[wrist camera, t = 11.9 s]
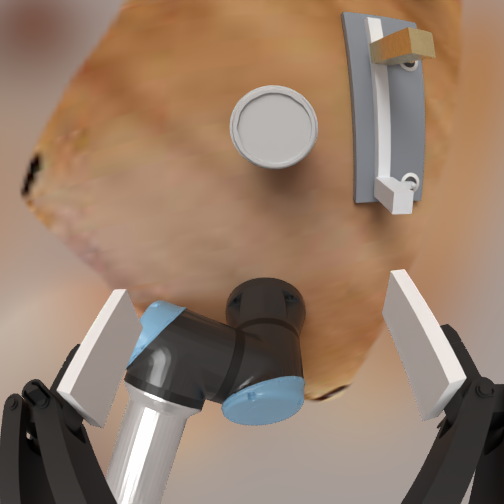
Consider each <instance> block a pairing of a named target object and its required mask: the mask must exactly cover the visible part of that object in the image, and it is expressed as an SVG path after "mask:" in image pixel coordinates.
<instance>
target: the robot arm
mask: <svg viewBox="0 0 504 504" xmlns="http://www.w3.org/2000/svg"><path fill="white" fill-rule="evenodd" d="M382 315H383V317H384V319H385V322H386V324H387V326H388V329H389V331H390V333H391V336H392V338H393V341H394V343H395V346H396V348H397V350H398V353H399V356H400V358H401V361H402V364H403V366H404V369H405V372H406V374H407V377H408V380H409V382H410V385H411V388H412V391H413V394H414V397H415V400H416V402H417V406H418V409H419V412H420V415H421V418H422V421H425V420H429V419H432V418H435V417H438V416H439V415H440V413H441V412H442V411H443V410H444V411H445V414H446V416H445V417H444V419H443V420H442V421H441V422H440V423H439V425H438V426H437V428H439V427H440V426H441V427H440V430H439V432H438V434H437V437H436V439H435V441H434V443H433V446H432V448H431V450H430V452H429V454H428V456H427V458H426V460H425V462H424V464H423V466H422V468H421V470H420V472H419V474H418V476H417V477H416V479H415V481H414V483H413V485H412V486H411V488H410V490H409V491H408V493H407V495H406V496H405V498H404V499H403V501H402V503H401V504H460V503H461V502H462V499H463V497H464V495H465V493H466V491H467V488H468V486H469V484H470V481H471V479H472V477H473V474H474V472H475V476H474V481H473V486H472V491H471V495H470V500H469V504H504V384H494V383H493V382H492V381H491V380H490V379H488V378H486V377H481V375H480V374H479V372H478V370H477V368H476V366H475V364H474V362H473V361H472V359H471V357H470V355H469V353H468V351H467V349H465V346H464V344H463V342H461V339H460V337H459V335H458V334H457V332H456V331H455V330H454V329H453V328H452V327H451V326H450V325H448V324H446V325H442V326H439V324H438V322H437V321H436V319H435V317H434V315H433V314H432V312H431V310H430V309H429V307H428V305H427V304H426V302H425V300H424V299H423V297H422V296H421V294H420V292H419V291H418V289H417V288H416V286H415V285H414V283H413V282H412V280H411V278H410V277H409V275H408V274H407V272H406V271H405V269H403V270H394V271H391V272H390V278H389V283H388V289H387V294H386V298H385V303H384V308H383V312H382ZM226 320H227V324H228V325H225V324H222V323H220V322H217V321H215V320H212V319H209V318H207V317H204V316H202V315H200V314H197V313H195V312H192V311H190V310H187V308H186V307H180V306H177V305H174V304H172V303H169V302H166V301H163V300H159V301H155V302H153V303H152V304H151V305H150V306H149V307H148V308H147V309H146V311H145V312H144V314H143V315H142V317H141V318H140V320H139V318H138V316H137V313H136V311H135V309H134V306H133V304H132V302H131V299H130V297H129V295H128V292H127V290H126V289H118V290H114V291H113V292H112V294H111V296H110V297H109V299H108V300H107V302H106V303H105V305H104V307H103V308H102V310H101V312H100V313H99V315H98V316H97V318H96V320H95V321H94V323H93V325H92V326H91V328H90V330H89V331H88V333H87V335H86V336H85V338H84V340H83V342H82V343H81V344H77V345H76V346H75V347H74V348H73V349H72V350H71V351H70V353H69V355H68V356H67V358H66V361H65V362H64V364H63V367H62V368H61V369H60V371H59V373H58V375H57V377H56V378H55V380H54V382H53V384H52V386H51V388H50V390H49V389H48V388H47V387H46V386H45V385H44V384H43V383H42V382H41V381H40V380H38V379H34V380H31V381H29V382H28V383H27V384H26V385H25V386H24V388H23V390H22V397H23V398H24V399H25V400H24V399H23V398H22V397H21V396H20V395H19V394H12V395H10V396H9V397H8V398H7V400H6V402H5V405H4V410H3V418H2V427H1V438H0V504H160V503H161V500H162V496H163V493H164V490H165V487H166V484H167V480H168V477H169V474H170V471H171V468H172V465H173V462H174V458H175V455H176V452H177V449H178V446H179V443H180V440H181V437H182V434H183V431H184V427H185V424H186V421H187V419H188V418H189V417H190V416H192V415H194V414H196V413H199V412H201V410H202V407H203V404H204V401H205V400H206V399H207V400H210V401H213V402H217V403H220V404H222V408H221V409H222V411H223V414H224V416H225V417H226V418H228V419H229V420H230V421H232V422H234V423H238V424H243V425H266V424H272V423H276V422H280V421H282V420H285V419H287V418H289V417H291V416H293V415H294V414H295V413H296V412H298V411H299V410H300V408H301V407H302V405H303V403H304V386H305V381H304V377H303V368H302V359H301V351H300V343H299V335H300V332H301V329H302V326H303V323H304V320H305V305H304V300H303V298H302V296H301V294H300V293H299V291H298V290H297V289H296V288H295V287H294V286H292V285H291V284H289V283H287V282H285V281H282V280H279V279H274V278H257V279H252V280H249V281H247V282H244V283H242V284H241V285H239V286H238V287H236V288H235V289H234V290H233V291H232V293H231V294H230V296H229V298H228V300H227V305H226ZM126 369H127V373H126V376H125V378H124V384H125V387H126V388H127V391H128V393H129V397H130V398H129V401H128V404H127V407H126V410H125V413H124V416H123V420H122V423H121V426H120V429H119V432H118V436H117V439H116V442H115V446H114V449H113V453H112V456H111V460H110V464H109V467H108V471H107V475H106V479H105V477H104V475H103V473H102V470H101V468H100V466H99V464H98V461H97V459H96V456H95V454H94V451H93V449H92V446H91V444H90V441H89V438H88V435H87V432H86V429H85V427H84V425H83V424H82V421H83V419H85V420H86V421H87V422H88V423H89V424H90V425H93V426H96V427H100V428H104V425H105V422H106V419H107V417H108V414H109V411H110V409H111V406H112V403H113V401H114V398H115V395H116V393H117V390H118V388H119V385H120V382H121V380H122V377H123V375H124V372H125V370H126ZM27 433H29V434H30V439H28V438H27V437H26V434H27ZM475 469H476V470H475Z"/></svg>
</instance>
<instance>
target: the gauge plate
mask: <svg viewBox="0 0 504 504" xmlns="http://www.w3.org/2000/svg"><path fill="white" fill-rule="evenodd" d="M341 19H342V25H343V31H344V38H345V45H346V53H347V61H348V71H349V81H350V92H351V106H352V123H353V151H354V198H353V200H354V201H355V202H356V203H363V202H381V203H382V204H383V205H384V206H385V207H386V208H387V209H388V210H389V212H390V213H391V214H412V205H413V201H421V196H422V185H423V172H424V153H425V103H424V84H423V72H422V62H421V60H418V61H415V62H414V63H401V64H395V65H383V64H373V63H371V55H370V47H369V44H370V43H372V42H374V41H377V40H379V39H381V38H383V37H386V36H388V35H390V34H392V33H395V32H397V31H400V30H402V29H405V28H407V27H410V28H414V29H417V27H416V23H413V22H408V21H404V20H399V19H393V18H388V17H382V16H375V15H368V14H360V13H350V12H343V13H342V14H341Z"/></svg>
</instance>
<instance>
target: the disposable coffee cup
mask: <svg viewBox="0 0 504 504" xmlns="http://www.w3.org/2000/svg"><path fill="white" fill-rule="evenodd" d="M317 134H318V122H317V118H316V114H315V112H314V110H313V108H312V106H311V105H310V103H309V102H308V101H307V100H306V99H305V98H304V97H303V96H302V95H301V94H299V93H298V92H296V91H294V90H292V89H290V88H287V87H283V86H274V85H269V86H263V87H259V88H257V89H254V90H252V91H250V92H249V93H247V94H246V95H245V96H243V98H242V99H241V100H240V101H239V102H238V103H237V105H236V106H235V108H234V110H233V112H232V115H231V119H230V135H231V138H232V141H233V143H234V145H235V148H236V149H237V151H238V152H239V153H240V154H241V155H242V156H243V157H244V158H245V159H246V160H247V161H249V162H251V163H252V164H254V165H256V166H259V167H262V168H267V169H283V168H287V167H290V166H292V165H295V164H297V163H298V162H300V161H301V160H303V159H304V158H305V157H306V156H307V155H308V154H309V152H310V151H311V150H312V148H313V146H314V144H315V141H316V139H317Z"/></svg>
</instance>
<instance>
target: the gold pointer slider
mask: <svg viewBox="0 0 504 504" xmlns="http://www.w3.org/2000/svg"><path fill="white" fill-rule="evenodd" d="M369 47H370V55H371V63H373V64H383V65H395V64H401V63H414V62H415V61H418V60H424V59H432V58H435V50H434V43H433V36H432V33H431V32H427V31H423V30H419V29H414V28H410V27H407V28H405V29H402V30H400V31H397V32H395V33H392V34H390V35H388V36H386V37H383V38H381V39H379V40H377V41H374V42H372V43H370V44H369Z"/></svg>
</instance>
